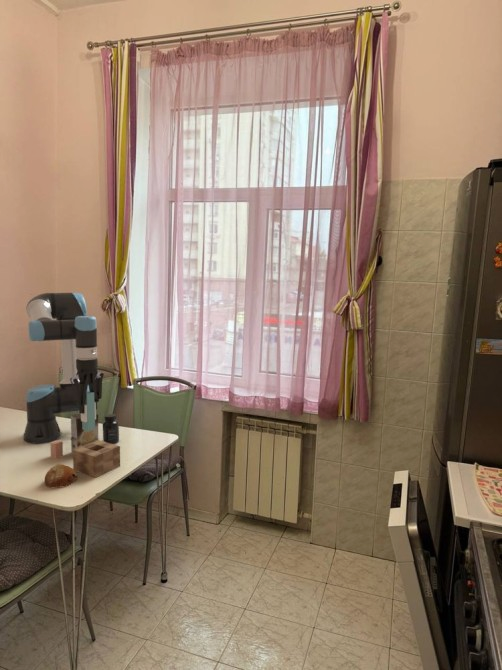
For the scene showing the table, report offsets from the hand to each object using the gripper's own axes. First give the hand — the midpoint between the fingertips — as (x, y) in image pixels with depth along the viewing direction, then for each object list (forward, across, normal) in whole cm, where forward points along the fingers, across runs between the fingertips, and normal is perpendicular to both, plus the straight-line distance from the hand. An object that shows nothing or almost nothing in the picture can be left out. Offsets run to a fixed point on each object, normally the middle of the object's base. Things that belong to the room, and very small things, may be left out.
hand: (88, 419), depth 169 cm
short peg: (+19, 0, +20) cm, 28 cm away
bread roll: (+20, -12, 0) cm, 23 cm away
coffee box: (+19, +10, +15) cm, 26 cm away
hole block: (+19, +2, -2) cm, 19 cm away
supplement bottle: (+19, +24, +15) cm, 34 cm away
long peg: (+4, 0, 0) cm, 4 cm away
